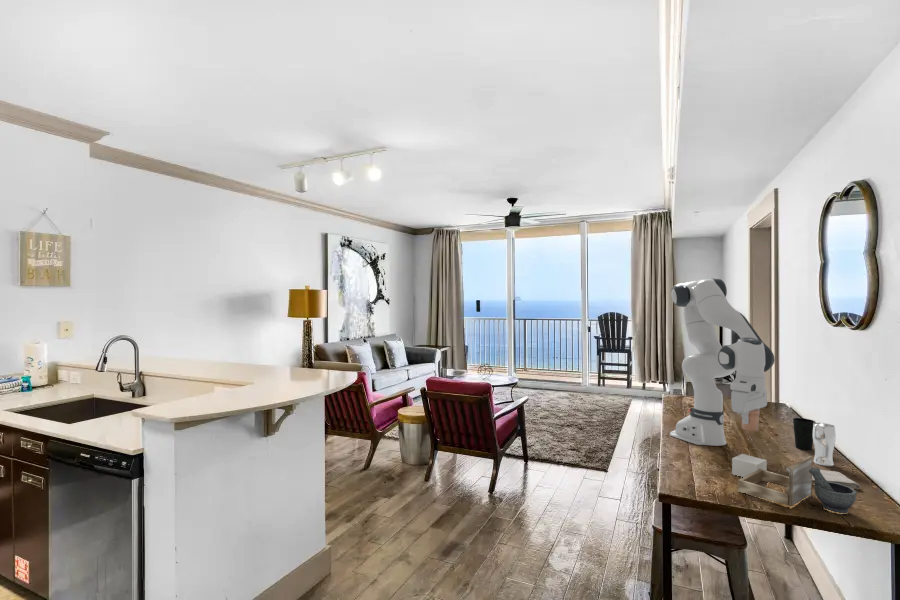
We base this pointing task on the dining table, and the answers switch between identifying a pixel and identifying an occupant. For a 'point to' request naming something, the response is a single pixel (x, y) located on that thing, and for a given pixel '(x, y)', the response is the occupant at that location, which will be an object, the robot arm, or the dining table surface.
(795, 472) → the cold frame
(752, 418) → the terracotta pot
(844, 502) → the mortar and pestle
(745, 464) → the block
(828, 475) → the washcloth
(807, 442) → the cup
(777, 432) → the dining table surface
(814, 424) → the beer glass
